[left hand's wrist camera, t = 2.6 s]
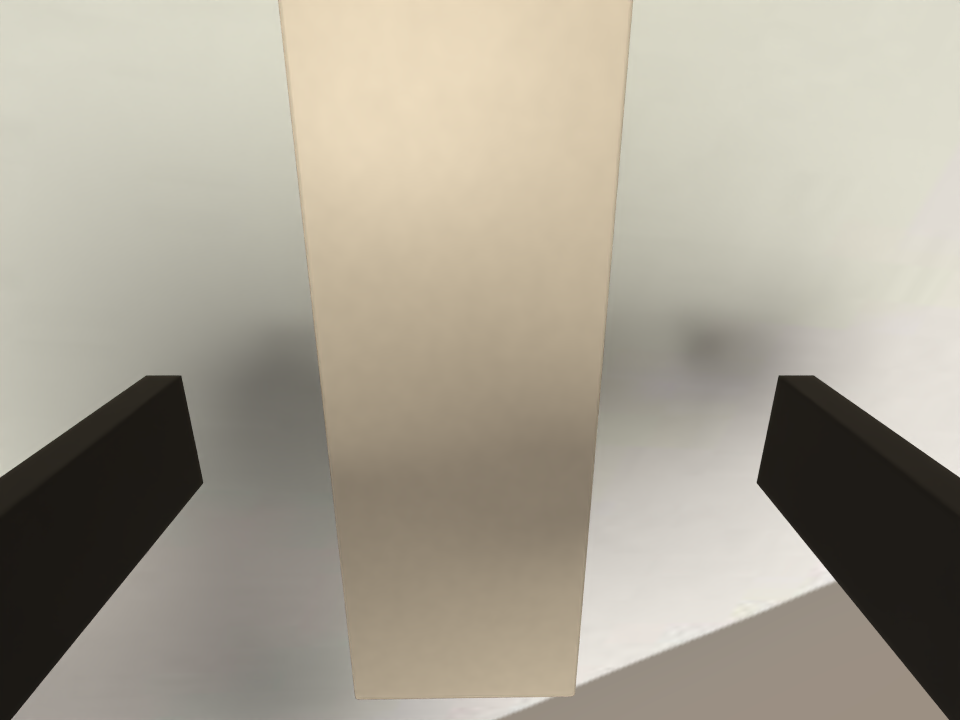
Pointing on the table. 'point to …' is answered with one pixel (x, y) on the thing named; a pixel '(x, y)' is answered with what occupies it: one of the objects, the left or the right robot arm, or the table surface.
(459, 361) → the bar
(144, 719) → the table surface
